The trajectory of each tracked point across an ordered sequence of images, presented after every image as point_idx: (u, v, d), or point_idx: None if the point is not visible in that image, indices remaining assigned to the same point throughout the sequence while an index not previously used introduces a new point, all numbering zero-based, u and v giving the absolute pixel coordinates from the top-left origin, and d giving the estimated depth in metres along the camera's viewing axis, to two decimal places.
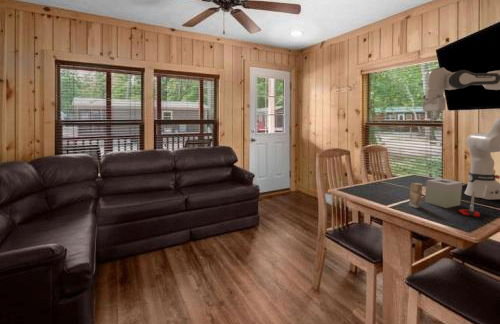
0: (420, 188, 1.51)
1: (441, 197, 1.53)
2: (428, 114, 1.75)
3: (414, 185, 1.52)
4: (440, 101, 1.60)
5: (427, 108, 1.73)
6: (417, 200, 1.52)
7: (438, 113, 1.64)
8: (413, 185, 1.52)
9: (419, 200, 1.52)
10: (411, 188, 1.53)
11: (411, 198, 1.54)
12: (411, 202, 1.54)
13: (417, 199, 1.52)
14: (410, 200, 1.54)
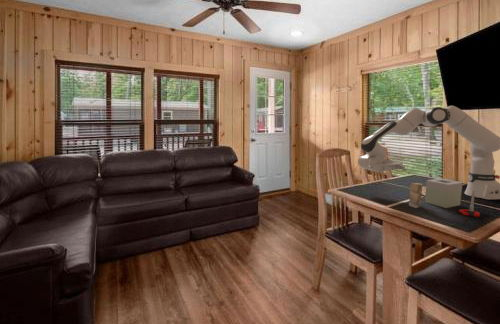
0: (420, 188, 1.51)
1: (441, 197, 1.53)
2: (400, 167, 1.67)
3: (414, 185, 1.52)
4: (372, 168, 1.68)
5: (393, 169, 1.70)
6: (417, 200, 1.52)
7: (385, 168, 1.63)
8: (413, 185, 1.52)
9: (419, 200, 1.52)
10: (411, 188, 1.53)
11: (411, 198, 1.54)
12: (411, 202, 1.54)
13: (417, 199, 1.52)
14: (410, 200, 1.54)
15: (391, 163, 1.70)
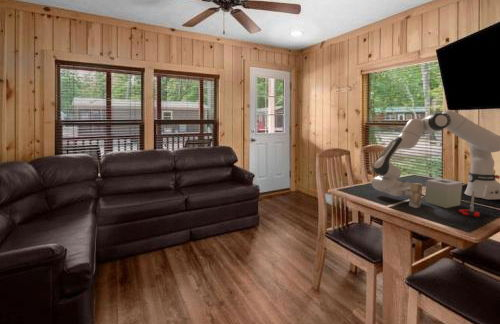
0: (420, 188, 1.51)
1: (441, 197, 1.53)
2: None
3: (414, 185, 1.52)
4: (389, 193, 1.58)
5: None
6: (417, 200, 1.52)
7: (406, 193, 1.54)
8: (413, 185, 1.52)
9: (419, 200, 1.52)
10: (411, 188, 1.53)
11: (411, 198, 1.54)
12: (411, 202, 1.54)
13: (417, 199, 1.52)
14: (410, 200, 1.54)
15: (409, 187, 1.60)
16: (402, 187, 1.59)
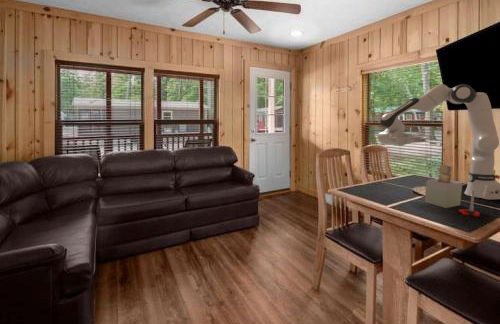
0: (449, 170, 1.54)
1: (441, 197, 1.53)
2: (421, 140, 1.73)
3: (443, 167, 1.55)
4: (394, 141, 1.74)
5: None
6: (446, 182, 1.55)
7: (407, 140, 1.69)
8: (442, 167, 1.55)
9: (448, 182, 1.55)
10: (440, 170, 1.56)
11: (440, 180, 1.57)
12: None
13: (446, 181, 1.55)
14: None
15: None
16: None
